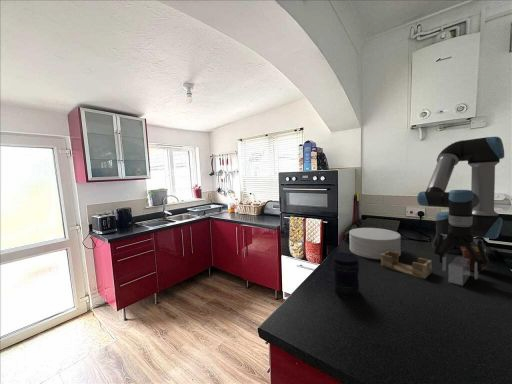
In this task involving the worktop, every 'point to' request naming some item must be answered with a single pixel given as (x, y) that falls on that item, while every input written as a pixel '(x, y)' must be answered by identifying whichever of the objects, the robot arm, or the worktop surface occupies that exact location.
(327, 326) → the worktop surface
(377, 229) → the plate stack
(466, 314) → the worktop surface
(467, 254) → the mug
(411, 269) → the posts
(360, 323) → the worktop surface
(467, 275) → the grey block
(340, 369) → the worktop surface
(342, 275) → the storage jar
